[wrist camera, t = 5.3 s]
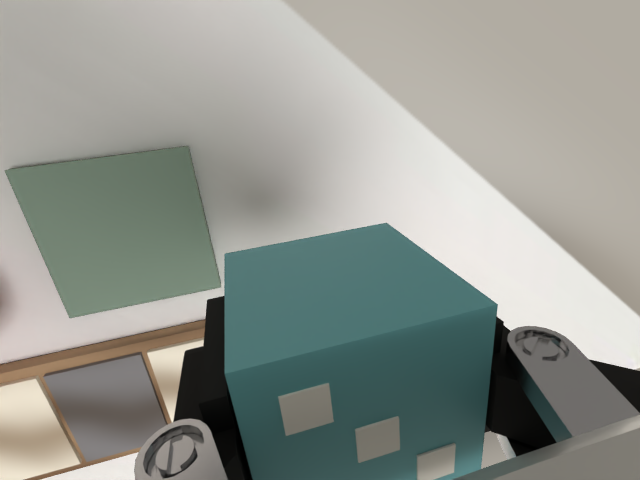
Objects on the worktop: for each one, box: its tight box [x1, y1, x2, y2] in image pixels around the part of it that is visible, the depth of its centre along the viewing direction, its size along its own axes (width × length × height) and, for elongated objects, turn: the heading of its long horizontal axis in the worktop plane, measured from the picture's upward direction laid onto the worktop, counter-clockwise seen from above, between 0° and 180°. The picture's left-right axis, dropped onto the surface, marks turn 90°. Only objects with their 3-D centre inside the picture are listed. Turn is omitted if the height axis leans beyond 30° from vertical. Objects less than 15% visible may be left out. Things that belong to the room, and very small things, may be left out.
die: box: [225, 223, 498, 480], centre depth 9 cm, size 5×5×5 cm
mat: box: [5, 146, 221, 318], centre depth 21 cm, size 9×9×1 cm
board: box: [0, 320, 205, 480], centre depth 25 cm, size 9×25×1 cm, turn 96°
